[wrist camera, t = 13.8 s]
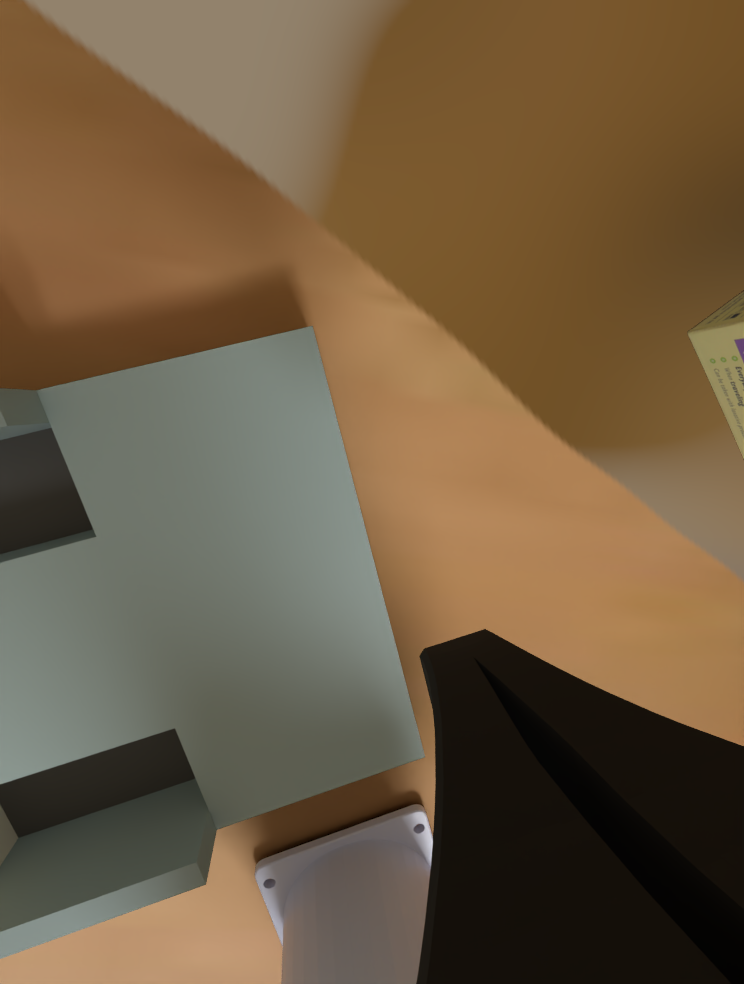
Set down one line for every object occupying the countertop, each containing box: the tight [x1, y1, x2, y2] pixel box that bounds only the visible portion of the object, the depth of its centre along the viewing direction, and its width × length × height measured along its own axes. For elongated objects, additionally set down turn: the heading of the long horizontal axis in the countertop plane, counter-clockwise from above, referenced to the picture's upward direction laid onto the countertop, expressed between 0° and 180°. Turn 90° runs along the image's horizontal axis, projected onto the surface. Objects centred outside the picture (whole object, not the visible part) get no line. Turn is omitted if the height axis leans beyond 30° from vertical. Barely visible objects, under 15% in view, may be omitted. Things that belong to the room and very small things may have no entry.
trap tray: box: [0, 326, 425, 959], centre depth 15 cm, size 17×24×4 cm
